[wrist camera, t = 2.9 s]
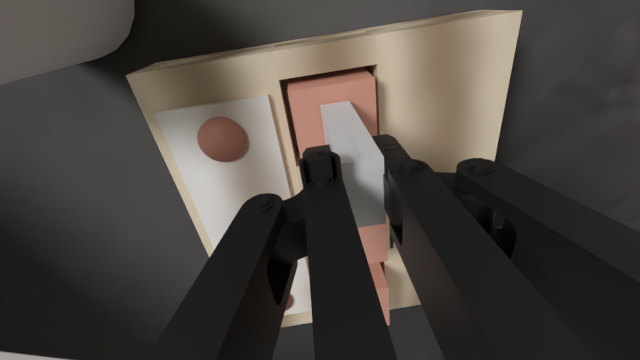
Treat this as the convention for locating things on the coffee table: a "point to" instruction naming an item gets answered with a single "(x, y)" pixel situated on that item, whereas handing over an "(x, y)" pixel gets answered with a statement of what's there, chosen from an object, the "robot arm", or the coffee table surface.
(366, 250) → the button
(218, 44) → the coffee table surface
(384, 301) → the button
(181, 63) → the board
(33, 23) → the can
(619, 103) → the coffee table surface
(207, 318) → the robot arm
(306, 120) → the button
